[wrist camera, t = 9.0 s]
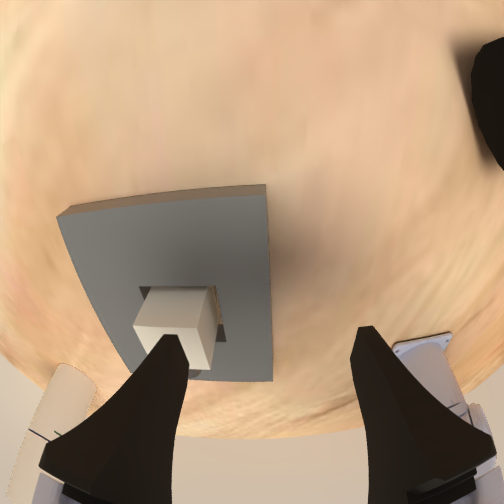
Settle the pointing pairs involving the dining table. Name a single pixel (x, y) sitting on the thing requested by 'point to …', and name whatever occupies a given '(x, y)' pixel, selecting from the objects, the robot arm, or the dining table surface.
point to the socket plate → (180, 267)
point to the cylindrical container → (50, 427)
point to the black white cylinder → (490, 95)
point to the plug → (181, 322)
